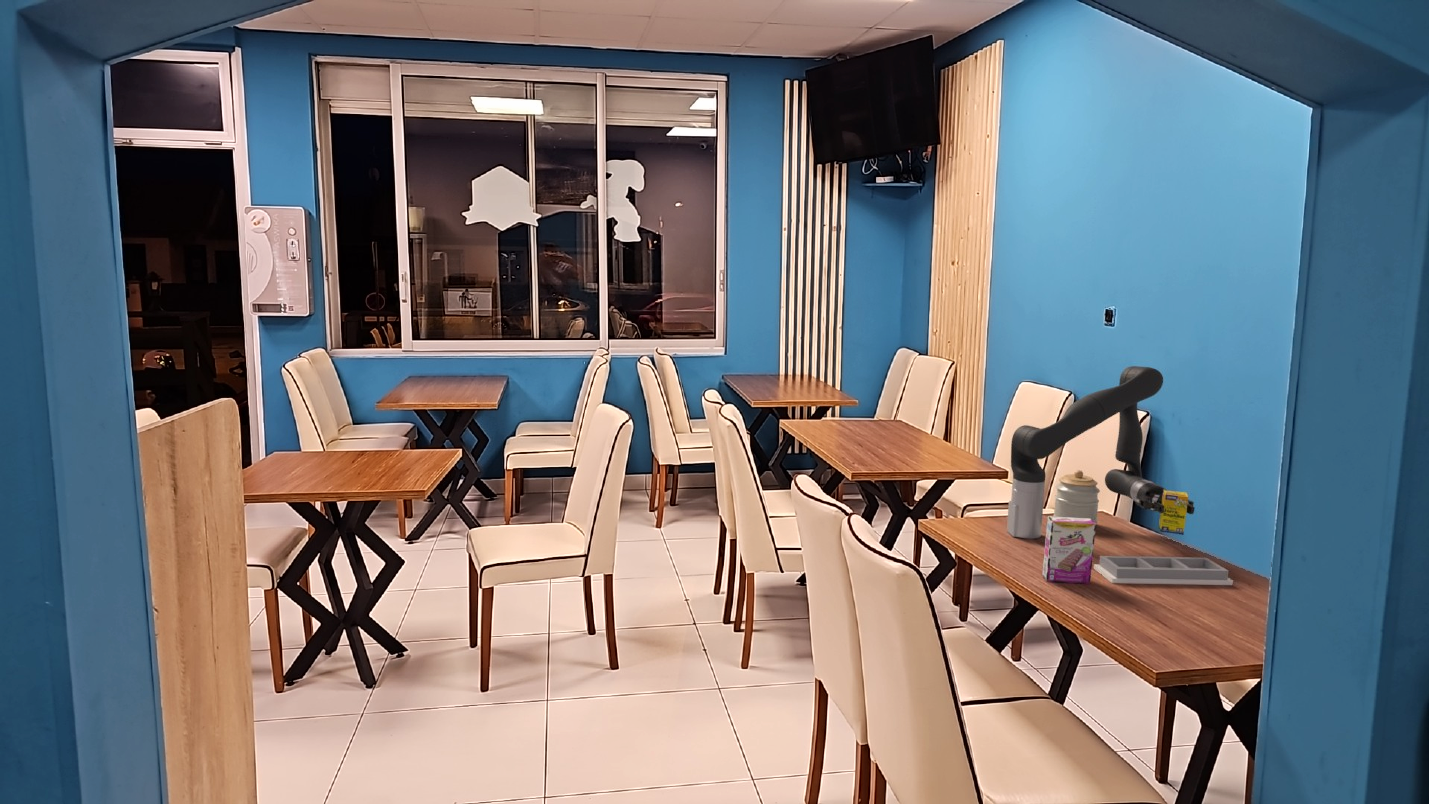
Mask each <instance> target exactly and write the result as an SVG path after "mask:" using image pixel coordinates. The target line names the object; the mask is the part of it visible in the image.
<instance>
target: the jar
mask: <svg viewBox="0 0 1429 804" xmlns="http://www.w3.org/2000/svg"><path fill="white" fill-rule="evenodd" d="M1058 481H1059V483H1057V484H1056V485H1055V488H1056V494H1055V495H1054V498H1055V499H1054V513H1053V517H1070V518H1089V519H1091V520H1092V521H1094V522H1095V523H1096V525H1097V524H1098V510H1099V509H1098V508H1099V502H1100V501H1099V497H1098V494H1099V493H1100V492H1101V491H1100V488H1098V487H1097V485H1098V482H1097V481H1096V480H1095V479H1094V478H1093V477H1092V476H1088V475H1084V472H1083V471H1082V470H1080V469H1077V470H1075V472H1074V474H1065V475H1063V476H1062V477H1060V478H1058Z"/></svg>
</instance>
